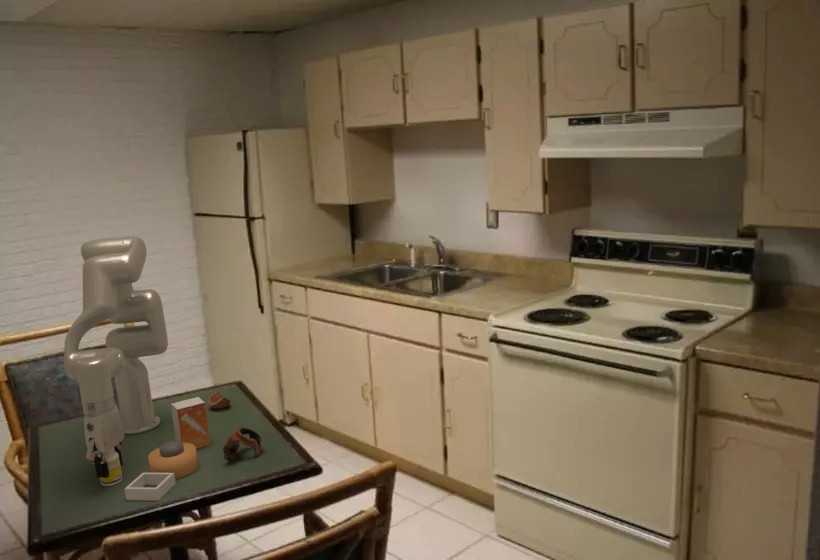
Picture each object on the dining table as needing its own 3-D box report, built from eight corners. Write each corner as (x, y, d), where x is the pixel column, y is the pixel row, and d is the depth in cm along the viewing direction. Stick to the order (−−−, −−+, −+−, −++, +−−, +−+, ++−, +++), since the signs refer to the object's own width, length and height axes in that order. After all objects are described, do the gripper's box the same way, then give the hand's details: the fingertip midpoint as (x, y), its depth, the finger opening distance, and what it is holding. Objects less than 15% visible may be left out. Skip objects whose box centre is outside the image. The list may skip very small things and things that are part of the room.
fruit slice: (235, 408, 236) (233, 394, 235) (214, 414, 232) (212, 399, 231) (225, 402, 243) (223, 387, 242) (205, 407, 239) (203, 393, 238)
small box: (182, 453, 204) (176, 409, 201) (176, 446, 209) (169, 403, 207) (211, 445, 208) (205, 401, 206) (204, 438, 213) (198, 396, 211)
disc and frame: (119, 499, 179) (115, 473, 178) (165, 459, 201) (161, 435, 199) (165, 500, 177) (161, 473, 176) (205, 460, 199) (202, 435, 197)
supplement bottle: (100, 480, 191) (94, 445, 189) (122, 475, 193) (116, 440, 191) (100, 488, 186) (94, 452, 184) (123, 483, 188) (117, 447, 186)
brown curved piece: (232, 448, 206) (245, 422, 205) (258, 466, 203) (271, 440, 202) (208, 456, 195) (221, 429, 194) (235, 475, 192) (248, 447, 191)
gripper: (92, 418, 177) (104, 487, 180) (130, 393, 193) (140, 457, 197) (64, 418, 178) (76, 487, 182) (105, 393, 195) (115, 456, 198)
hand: (109, 470), depth 189 cm, fingers closed on supplement bottle, 5 cm apart
